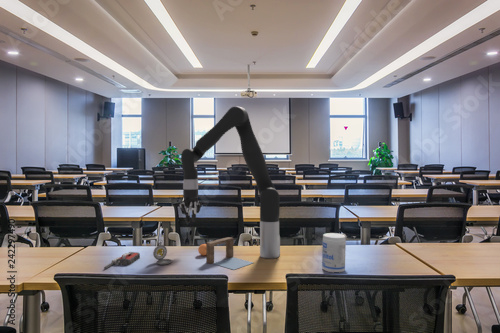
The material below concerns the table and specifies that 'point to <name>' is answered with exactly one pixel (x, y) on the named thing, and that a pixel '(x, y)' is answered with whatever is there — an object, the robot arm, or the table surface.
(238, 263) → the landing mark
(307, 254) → the table surface
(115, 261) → the walkie-talkie
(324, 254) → the supplement tub
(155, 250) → the pocket watch
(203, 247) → the ball
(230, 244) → the bridge
